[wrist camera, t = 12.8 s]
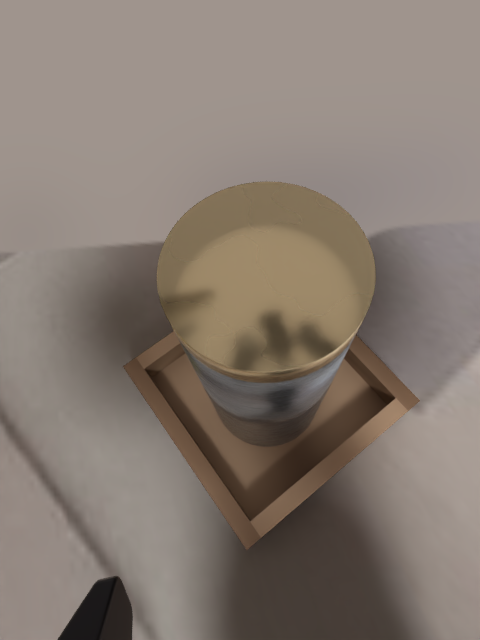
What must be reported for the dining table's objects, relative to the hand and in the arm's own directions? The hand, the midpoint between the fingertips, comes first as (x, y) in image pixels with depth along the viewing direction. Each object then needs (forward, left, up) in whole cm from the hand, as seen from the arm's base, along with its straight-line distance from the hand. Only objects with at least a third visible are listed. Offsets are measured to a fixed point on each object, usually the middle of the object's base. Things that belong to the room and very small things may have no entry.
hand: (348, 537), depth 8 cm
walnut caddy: (+3, +6, -14) cm, 15 cm away
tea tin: (+3, +6, -13) cm, 14 cm away
